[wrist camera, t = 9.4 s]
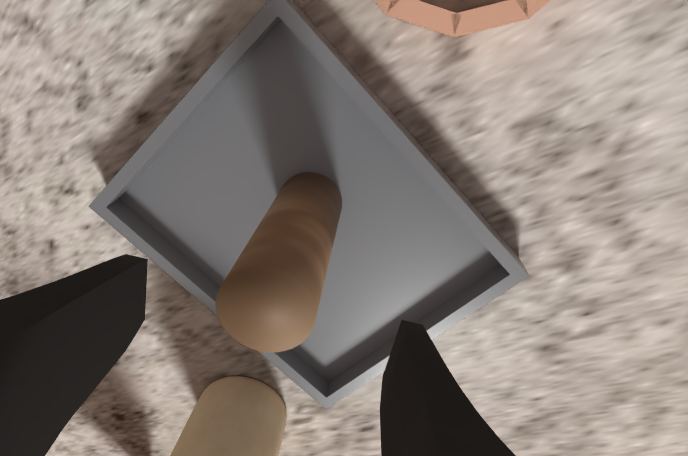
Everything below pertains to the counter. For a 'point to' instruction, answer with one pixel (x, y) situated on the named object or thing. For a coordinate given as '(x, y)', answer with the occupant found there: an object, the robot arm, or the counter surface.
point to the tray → (323, 158)
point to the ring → (460, 15)
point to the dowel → (282, 267)
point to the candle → (234, 420)
